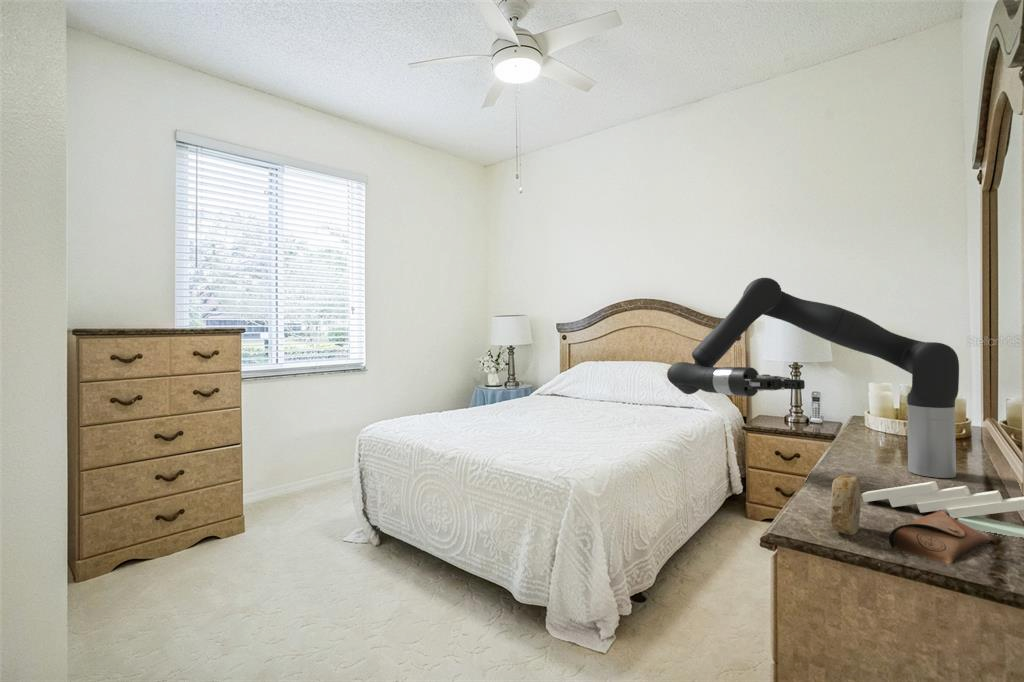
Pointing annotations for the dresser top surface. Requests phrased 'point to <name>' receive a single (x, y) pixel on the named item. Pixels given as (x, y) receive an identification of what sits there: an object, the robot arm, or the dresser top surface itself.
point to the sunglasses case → (936, 537)
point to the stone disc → (845, 504)
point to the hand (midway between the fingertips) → (802, 384)
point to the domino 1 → (900, 491)
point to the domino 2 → (931, 496)
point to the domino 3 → (962, 501)
